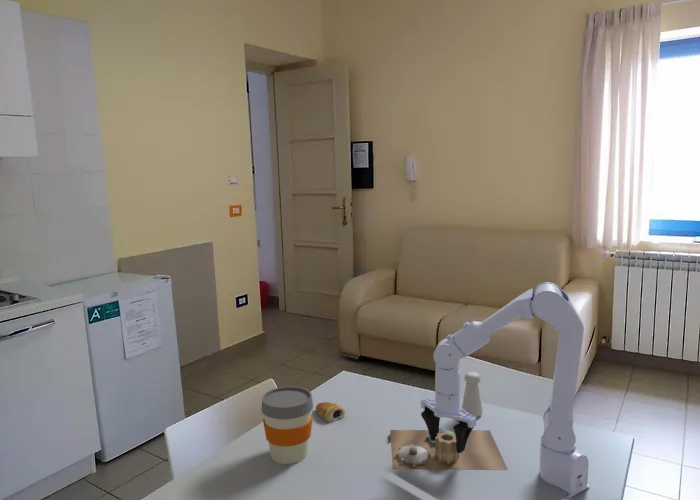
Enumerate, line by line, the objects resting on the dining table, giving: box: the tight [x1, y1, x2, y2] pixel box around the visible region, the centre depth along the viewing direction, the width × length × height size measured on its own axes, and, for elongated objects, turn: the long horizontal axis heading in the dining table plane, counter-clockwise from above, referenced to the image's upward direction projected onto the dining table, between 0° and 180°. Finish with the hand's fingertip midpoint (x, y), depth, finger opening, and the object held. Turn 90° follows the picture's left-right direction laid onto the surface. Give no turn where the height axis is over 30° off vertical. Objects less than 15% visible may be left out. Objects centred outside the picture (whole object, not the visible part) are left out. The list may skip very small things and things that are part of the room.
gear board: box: [389, 427, 509, 471], centre depth 125 cm, size 26×18×5 cm
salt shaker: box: [461, 371, 484, 419], centre depth 143 cm, size 6×6×13 cm
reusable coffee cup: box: [261, 385, 314, 465], centre depth 126 cm, size 13×13×15 cm
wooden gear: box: [435, 432, 459, 464], centre depth 121 cm, size 6×6×5 cm
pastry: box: [315, 401, 346, 423], centre depth 147 cm, size 9×7×4 cm
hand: (447, 445), depth 121 cm, fingers open, 7 cm apart
